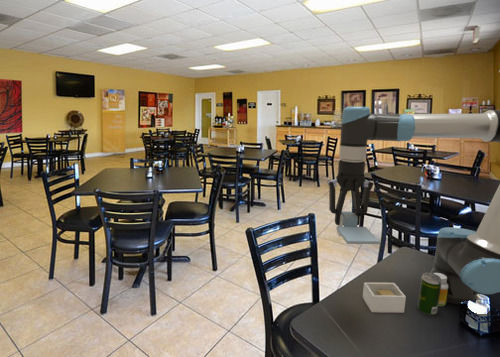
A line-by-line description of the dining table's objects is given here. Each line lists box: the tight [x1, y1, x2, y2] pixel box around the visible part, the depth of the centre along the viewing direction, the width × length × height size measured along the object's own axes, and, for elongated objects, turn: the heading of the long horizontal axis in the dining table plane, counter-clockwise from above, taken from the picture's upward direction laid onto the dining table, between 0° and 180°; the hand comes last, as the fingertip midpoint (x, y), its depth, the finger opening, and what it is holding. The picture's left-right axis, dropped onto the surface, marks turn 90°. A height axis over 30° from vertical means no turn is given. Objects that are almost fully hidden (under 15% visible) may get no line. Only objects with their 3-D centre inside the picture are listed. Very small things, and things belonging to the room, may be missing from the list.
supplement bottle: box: [433, 273, 448, 307], centre depth 102 cm, size 5×5×10 cm
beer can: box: [417, 272, 441, 316], centre depth 97 cm, size 5×5×12 cm
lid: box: [336, 210, 381, 245], centre depth 90 cm, size 17×9×4 cm, turn 0°
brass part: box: [377, 289, 396, 296], centre depth 100 cm, size 4×4×4 cm
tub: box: [362, 282, 407, 314], centre depth 100 cm, size 10×8×6 cm
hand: (346, 234), depth 98 cm, fingers closed on lid, 3 cm apart
